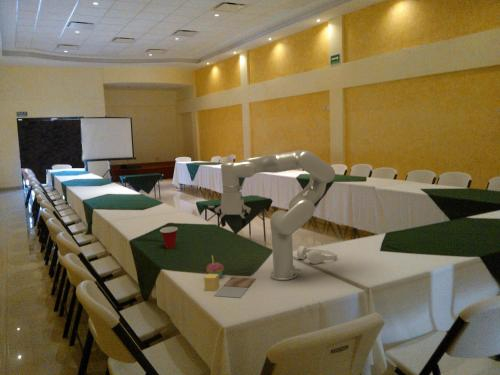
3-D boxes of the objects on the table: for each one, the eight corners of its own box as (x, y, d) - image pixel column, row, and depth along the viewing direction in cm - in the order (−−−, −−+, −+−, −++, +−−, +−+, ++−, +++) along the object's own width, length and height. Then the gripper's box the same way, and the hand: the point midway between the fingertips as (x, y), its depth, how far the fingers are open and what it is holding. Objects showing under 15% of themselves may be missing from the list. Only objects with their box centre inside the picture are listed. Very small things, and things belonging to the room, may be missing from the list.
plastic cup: (158, 249, 256) (156, 230, 254) (166, 244, 266) (165, 226, 264) (174, 250, 252) (172, 231, 251) (182, 245, 263) (180, 226, 261)
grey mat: (248, 288, 186) (248, 287, 186) (240, 298, 176) (240, 297, 176) (222, 286, 190) (222, 286, 190) (213, 296, 179) (213, 295, 179)
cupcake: (219, 281, 197) (218, 256, 195) (203, 279, 200) (201, 255, 198) (227, 275, 205) (225, 251, 203) (211, 273, 208) (210, 250, 206)
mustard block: (219, 287, 190) (218, 274, 189) (215, 291, 185) (214, 278, 184) (209, 286, 191) (208, 273, 190) (204, 290, 186) (204, 277, 186)
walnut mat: (255, 279, 197) (255, 278, 197) (248, 287, 187) (248, 287, 187) (231, 277, 201) (231, 276, 201) (223, 285, 191) (223, 285, 191)
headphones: (315, 252, 210) (343, 250, 221) (292, 244, 226) (319, 243, 237) (314, 266, 211) (342, 263, 222) (291, 257, 226) (318, 256, 237)
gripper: (251, 187, 190) (254, 224, 193) (216, 188, 196) (219, 224, 198) (246, 190, 183) (249, 228, 186) (210, 191, 189) (213, 228, 191)
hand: (233, 226), depth 192 cm, fingers open, 9 cm apart
